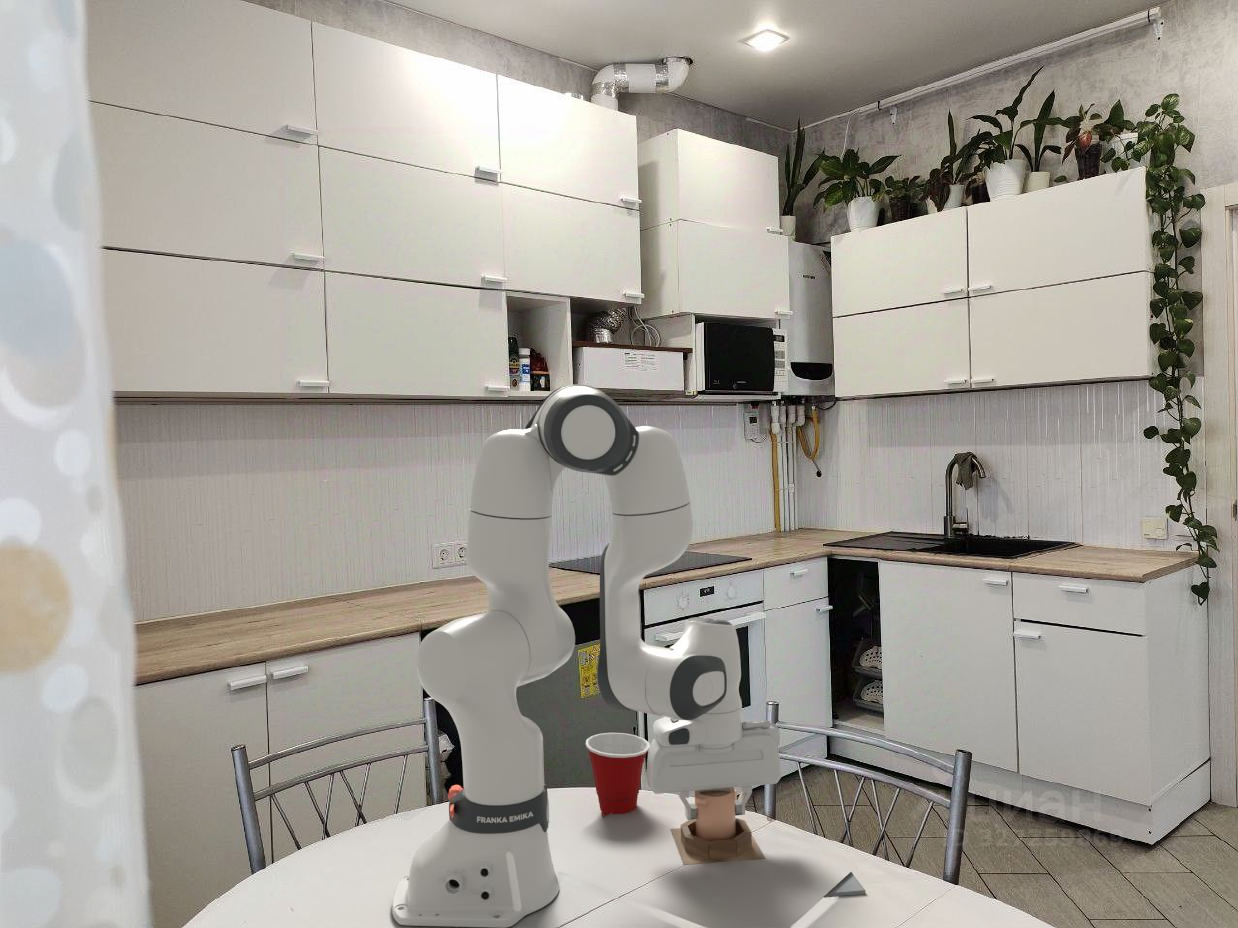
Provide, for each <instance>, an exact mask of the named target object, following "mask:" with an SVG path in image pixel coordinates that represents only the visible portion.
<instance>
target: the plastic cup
mask: <svg viewBox="0 0 1238 928" xmlns="http://www.w3.org/2000/svg"><path fill="white" fill-rule="evenodd" d="M650 744H651V743H650V742H649V741H648V740H646V739H645V738H643V737H641V736H638V735H635V734H631V733H625V732H624V733H623V732H605V733H598V734H594V735H592V736H590V737H588V738H587V739H586V740H585V747H586V748H587V750H588V751H587V752H588V754H589V757H590V758H589V759H590V763H591V767H592V768H591V769H592V773H593V774H592V775H593V778H594V779H593V780H594V784H595V792H596V795H597V798H598V799H597V800H598V803H599V809H600V812H601V815H602V816H603V817H607V816H608V815H610V814H611V815H624V814H628V813H630V812H631V813H632V812H633V811H635V810H636V809H637V806H638V798H639V797H638V796H639V793H640V787H641V779H642V774H643V773H642V772H643V766H644V763H645V759H646V755H647V754H648V751H649V747H650Z"/></svg>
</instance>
